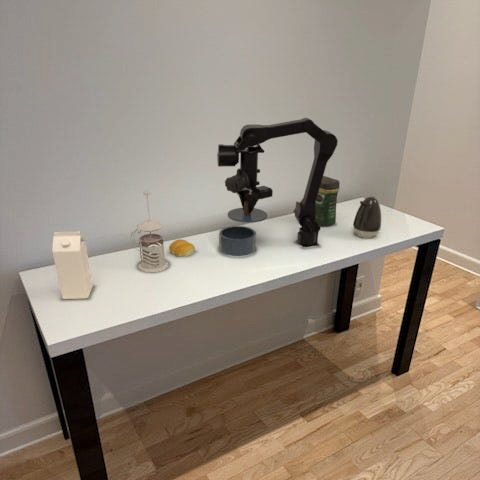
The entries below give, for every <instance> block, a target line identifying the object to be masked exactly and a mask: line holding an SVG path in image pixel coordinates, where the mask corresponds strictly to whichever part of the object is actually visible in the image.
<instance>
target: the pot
mask: <svg viewBox="0 0 480 480" xmlns="http://www.w3.org/2000/svg"><path fill="white" fill-rule="evenodd" d="M256 242H257V231H256V230H255V229H253V228H251V227H247V226H243V225H232V226H227V227H224V228H222V229H220V230H219V232H218V250H219V252H221V253H223V255H227V256H232V257H244V256H248V255H249V256H250V255H251V254H254V253H255V252H256V249H257V248H256V245H257V243H256Z"/></svg>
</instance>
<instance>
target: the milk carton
mask: <svg viewBox="0 0 480 480" xmlns="http://www.w3.org/2000/svg"><path fill="white" fill-rule="evenodd" d="M52 234H53V240H52V249H51V250H52V251H51V252H52V256H53V262H54V266H55V270H56V275H57V281H58V284H59V289H60V294H61V298H62V300H74V299H75V300H76V299H77V300H78V299H81V300H83V299H88V298H89V297H90V294H91V292H92V290H93V287H94V285H93V284H94V283H93V278H92V273H91V267H90V262H89V256H88V255H89V254H88V249H87V243H86V240H85V238H84V237H83V236H82V235H81V231H54V232H52Z"/></svg>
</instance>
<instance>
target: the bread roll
mask: <svg viewBox="0 0 480 480" xmlns="http://www.w3.org/2000/svg"><path fill="white" fill-rule="evenodd" d="M168 250H169V251H170V253H172V255H175V256H176V257H179V258H182V257H184V258H185V257H190V256H191V255H194V254H195V251H196V247H195V245H194V244H193V243H191V242H189V241H188V240H186V239H181V238H180V239H175V240H174V241H173V242H171V243H170V244H169V247H168Z"/></svg>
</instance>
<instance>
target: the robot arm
mask: <svg viewBox="0 0 480 480" xmlns="http://www.w3.org/2000/svg"><path fill="white" fill-rule="evenodd" d="M304 133H306V134H307V135H308V136H310V137H311V138H312V139H313V140H314V143H313V161H312V165H311V169H310V172H309V176H308V180H307V183H306V187H305V190H304V194H303V197H302V199H301V200H300V201H296V203H295V208H294V210H293V214H294V218H295V219H296V221H297V222H298V224H299V226H300V227H299V228H298V231H297V237H296V240H295V241H296V243H297V244H298V245H300V246H301V247H302V248H311V247H318V246H320V244H319V243H318V240H319V232H320V230H321V225H319V224H318V223H317V222H316V220H315V215H316V204H315V203H316V199H317V195H318V192H319V189H320V185H321V182H322V178H323V176H325V172H326V171H325V170H326V168H327V164H328V162H329V160H331V158H332V157H333V155H334V154H335V153H334V152H335V151H336V149H337V146H338V143H339V142H338V137H336V135H335V134H334V133H332V132H330V131H329V130H326V129H322V128H321V127H320V126H319V125H317V124H316V123H315V122H314V120H312V119H310V118H309V117H303V118H301V119H295V120H294V119H293V120H289V121H284V122H278V123H273V124H245V125H244V126H242V128H241V129H240V131H239V136H238V137H237V139H236V140H235V141H234V143H233V144H222V143H221V144H218V145H217V146H218V147H217V153H216V154H217V155H216V161H217V167H222V168H223V167H236V165H238V164H239V168H237V169H236V174H235V175H232V176H229V177H226V179H225V180H224V186H225V187H226V190H227V191H228V192H231V193H232V194H237V195H238V197H239V200H240V203H241V208H243V210H244V201H248V212H249V213H251V212H252V211H253V209H254V208H256V205H257V203H258V201H259V200H263V199H268V198H273V195H274V194H273V193H274V191H273V189H272V188H271V187H269V186H267V185H261V186H260V184H261V183H260V181H259V180H258V174H259V173H261V169H260V168H258V167H259V166H258V165H259V154H264V153H265V150H264V149H263V147H262V146H261V145H260V144H263V143H265V142H268V141H269V140H272V139H278V138H282V137H287V136H293V135H299V134H304Z"/></svg>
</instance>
